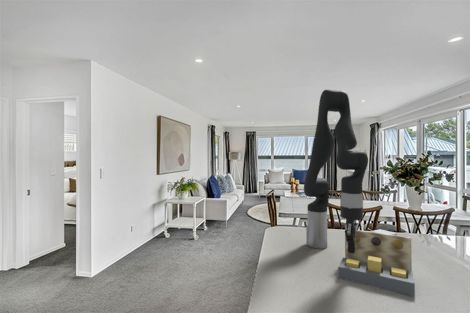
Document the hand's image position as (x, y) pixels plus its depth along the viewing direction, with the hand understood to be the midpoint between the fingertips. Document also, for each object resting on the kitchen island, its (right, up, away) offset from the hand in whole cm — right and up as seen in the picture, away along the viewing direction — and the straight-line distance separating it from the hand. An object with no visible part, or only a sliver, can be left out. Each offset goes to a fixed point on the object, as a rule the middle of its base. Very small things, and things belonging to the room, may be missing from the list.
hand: (351, 252), depth 90 cm
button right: (+12, -8, -8) cm, 17 cm away
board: (+6, -8, -4) cm, 11 cm away
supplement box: (+18, -9, +11) cm, 23 cm away
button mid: (+6, -6, -4) cm, 9 cm away
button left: (0, -8, 0) cm, 8 cm away
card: (+12, -8, +5) cm, 16 cm away
